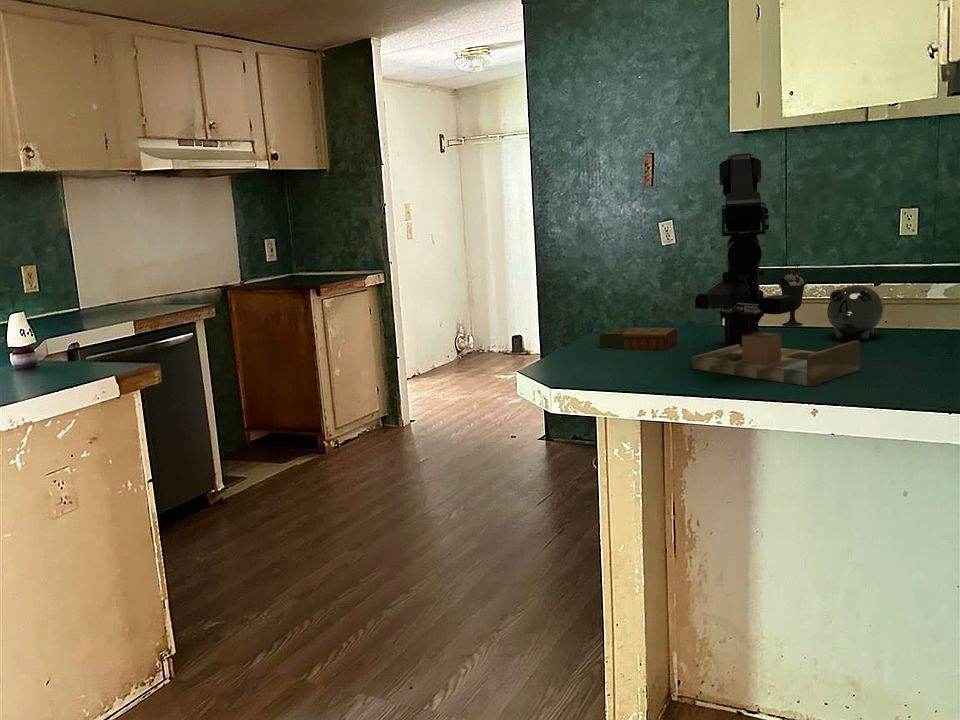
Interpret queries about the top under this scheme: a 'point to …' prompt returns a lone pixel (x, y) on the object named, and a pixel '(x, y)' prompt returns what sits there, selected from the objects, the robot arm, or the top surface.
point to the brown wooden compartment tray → (786, 364)
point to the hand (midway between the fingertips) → (743, 347)
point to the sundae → (793, 293)
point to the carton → (639, 338)
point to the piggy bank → (854, 311)
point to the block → (761, 348)
